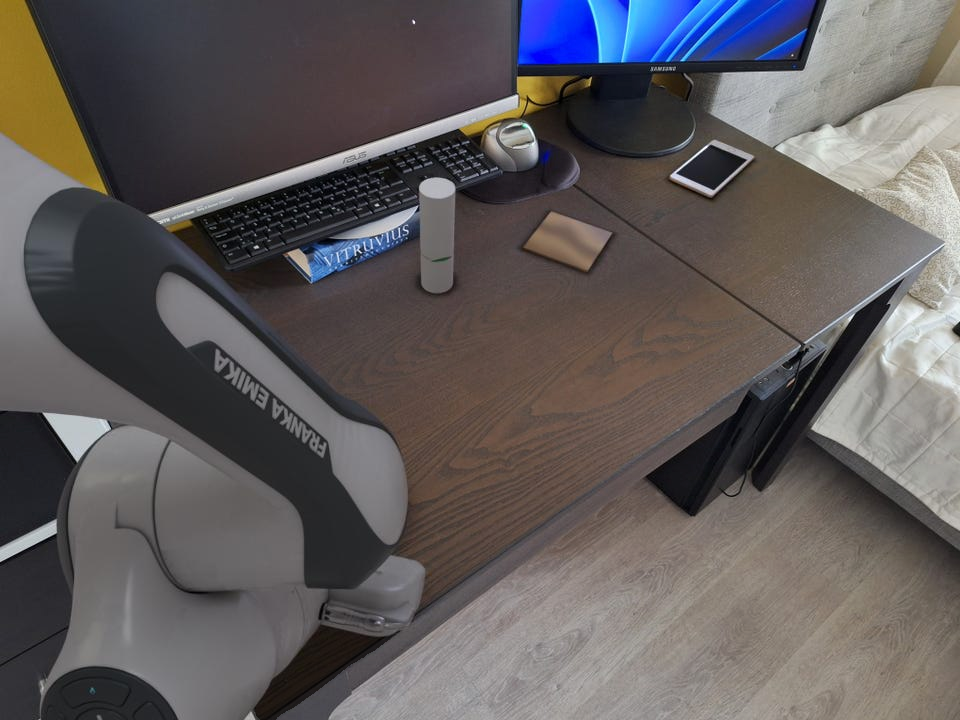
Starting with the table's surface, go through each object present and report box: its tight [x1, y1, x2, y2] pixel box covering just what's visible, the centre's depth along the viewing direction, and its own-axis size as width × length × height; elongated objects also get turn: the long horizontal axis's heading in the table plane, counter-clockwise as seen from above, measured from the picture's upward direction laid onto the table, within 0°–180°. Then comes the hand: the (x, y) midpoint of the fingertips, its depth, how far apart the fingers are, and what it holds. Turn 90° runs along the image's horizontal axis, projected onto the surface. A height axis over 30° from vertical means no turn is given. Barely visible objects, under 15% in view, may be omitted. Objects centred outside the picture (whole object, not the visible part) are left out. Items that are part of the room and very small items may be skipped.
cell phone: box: [669, 139, 755, 199], centre depth 112 cm, size 8×16×1 cm, turn 140°
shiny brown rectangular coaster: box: [522, 211, 613, 274], centre depth 98 cm, size 10×10×1 cm
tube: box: [418, 177, 456, 294], centre depth 85 cm, size 4×4×15 cm
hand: (327, 538), depth 60 cm, fingers closed, pressing on flower pot
